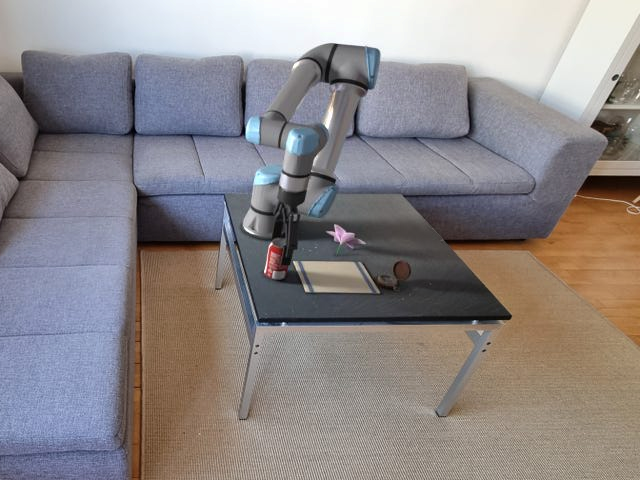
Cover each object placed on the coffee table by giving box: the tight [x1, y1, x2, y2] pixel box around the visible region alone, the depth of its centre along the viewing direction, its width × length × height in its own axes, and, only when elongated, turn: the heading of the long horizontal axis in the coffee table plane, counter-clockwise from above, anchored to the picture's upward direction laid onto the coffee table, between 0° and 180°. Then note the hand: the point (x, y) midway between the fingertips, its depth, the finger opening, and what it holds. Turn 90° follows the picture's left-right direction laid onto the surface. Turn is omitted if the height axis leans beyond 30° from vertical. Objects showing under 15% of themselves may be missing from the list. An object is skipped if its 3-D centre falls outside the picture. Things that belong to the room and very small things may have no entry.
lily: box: [325, 224, 367, 256], centre depth 147 cm, size 12×12×10 cm
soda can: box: [263, 237, 290, 281], centre depth 134 cm, size 7×7×12 cm
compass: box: [375, 259, 412, 292], centre depth 132 cm, size 8×8×7 cm
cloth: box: [292, 260, 381, 295], centre depth 137 cm, size 16×22×1 cm
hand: (280, 251), depth 133 cm, fingers open, 13 cm apart
